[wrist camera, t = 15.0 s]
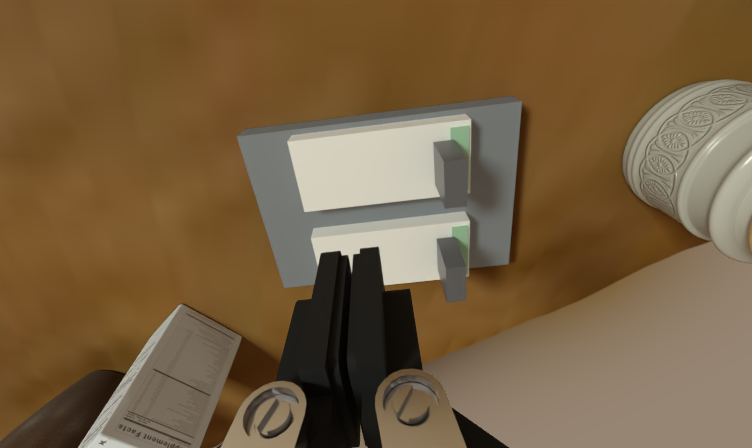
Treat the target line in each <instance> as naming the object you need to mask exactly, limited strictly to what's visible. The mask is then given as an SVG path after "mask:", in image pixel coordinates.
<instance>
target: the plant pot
mask: <svg viewBox="0 0 752 448" xmlns="http://www.w3.org/2000/svg"><path fill="white" fill-rule="evenodd" d="M124 377H125V375H123V374H120V373H117V372H114V371H108V370H100V371H95V372H92V373H90V374H89V375H87V376H85V377H84V378H82V379H81V380H79V381H78V382H76V383H75V384H73V385H72V386H70V387H69V388H68V389H66V390H65V391H63V392H62V393H60V394H59V395H58V396H56V397H55V398H54V399H52V400H51V401H49V402H48V403H47V404H46V405H44V406H43V407H42V408H40V409H39V410H38V411H36V412H35V413H34V414H33V415H31V416H30V417H29V418H28V419H26V420H25V421H24V422H23V423H22V424H20V425H19V426H18V427H17V428H15V429H14V430H13V431H12V432H11V433H9V434H8V435H7V436H6V437H5V438H4V439H2V440H1V441H0V448H78V447H79V445H80V444H81V442H82V441H83V439H84V438H85V436H86V435H87V433H88V432H89V430H90V429H91V427H92V426H93V424H94V423H95V421H96V420H97V418H98V416H99V415H100V413H101V412H102V410H103V409H104V407H105V406H106V404H107V403H108V401H109V400H110V398H111V397H112V395H113V393H114V392H115V390H116V389H117V387H118V386H119V384H120V383H121V381H122V380H123V378H124Z"/></svg>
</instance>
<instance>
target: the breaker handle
mask: <svg viewBox="0 0 752 448" xmlns="http://www.w3.org/2000/svg"><path fill="white" fill-rule="evenodd" d="M437 263H438V273H439V276H440V280H441V284H442V287H443V291H444V294H445V298H446V302H457V301H466V265H465V262H464V260H463V257H462V255H461V252H460V250H459V247H458V245H457V242H456V240H455V237H447V238H438V239H437Z"/></svg>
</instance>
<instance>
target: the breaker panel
mask: <svg viewBox="0 0 752 448" xmlns="http://www.w3.org/2000/svg"><path fill="white" fill-rule="evenodd" d="M521 108H522V101H521V100H519V99H517V98H515V97H513V96H508V97H500V98H492V99H484V100H476V101H468V102H460V103H452V104H444V105H436V106H428V107H420V108H412V109H404V110H396V111H388V112H380V113H372V114H364V115H356V116H348V117H340V118H332V119H324V120H316V121H308V122H300V123H292V124H284V125H276V126H268V127H260V128H252V129H245V130H244V131H242V132H241V133H240V134H239V135H238V136H237V139H238V142H239V146H240V149H241V152H242V155H243V158H244V161H245V165H246V168H247V171H248V174H249V177H250V180H251V184H252V187H253V190H254V193H255V196H256V200H257V203H258V206H259V209H260V212H261V215H262V219H263V222H264V225H265V228H266V231H267V235H268V238H269V241H270V244H271V247H272V250H273V254H274V257H275V260H276V263H277V266H278V270H279V273H280V276H281V279H282V282H283V285H284V288H289V287H298V286H307V285H314V284H315V279H316V274H317V269H318V264H319V259H320V255H321V253H324V252H333V251H341V254H342V255H348V257H349V261H350V267H351V272H352V264H353V254H360V249H361V248H370V247H379V251H380V259H381V266H382V273H383V281H384V285H391V284H400V283H410V282H420V281H429V280H439V279H440V276H439V273H438V263H437V239H438V238H447V237H455V240H456V242H457V245H458V247H459V250H460V252H461V255H462V257H463V260H464V262H465V265H466V277H467V276H469V268H478V267H487V266H497V265H506V264H509V255H510V243H511V230H512V218H513V206H514V194H515V182H516V169H517V157H518V145H519V133H520V121H521ZM447 140H455V142H456V143H457V145H458V146H459V147H460V149H461V150H462V152H463V153H464V154H465V156H466V157H467V159H468V198H467V207H458V208H449V209H445V208H444V205H443V203H442V200H441V198H440V195H439V193H438V191H437V188H436V186H435V173H434V148H433V142H438V141H447Z"/></svg>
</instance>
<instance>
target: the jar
mask: <svg viewBox="0 0 752 448" xmlns="http://www.w3.org/2000/svg"><path fill="white" fill-rule="evenodd" d="M622 167H623V174H624V178H625V180H626V182H627V184H628V185H629V187H630V188H631V189H632V190H633V192H634V193H635V194H636V195H637V196H638V197H639V198H640V199H641V200H643V201H644V202H646V203H647V204H648V205H650V206H652V207H654V208H657V209H660V210H661V211H663V212H664V213H666V214H667V215H669V216H670V217H672V218H673V219H675V220H677V221H678V222H680V223H681V224H683V225H684V227H685V228H686V229H687V230H688V231H689V232H691V233H692V234H694V235H695V236H697V237H699V238H702V239H705V240H708V241H713V243H714V245H715V246H716V247H717V249H718V250H719V251H721V252H722V253H723V254H724V255H726V256H727V257H729V258H731V259H734V260H737V261H740V262H744V263H752V83H750V82H745V81H738V80H716V81H704V82H699V83H695V84H691V85H689V86H686V87H684V88H681V89H679V90H677V91H675V92H673V93H672V94H670V95H668V96H667V97H665V98H664V99H662V100H661V101H660V102H658V103H657V104H656V105H655V106H654V107H653V108H651V109H650V110H649V111H648V112H647V113H646V114H645V116H644V117H643V118H642V119H641V120H640V122H639V123H638V124H637V126H636V127H635V128H634V130H633V132H632V133H631V135H630V137H629V139H628V142H627V144H626V147H625V150H624V154H623V162H622Z"/></svg>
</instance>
